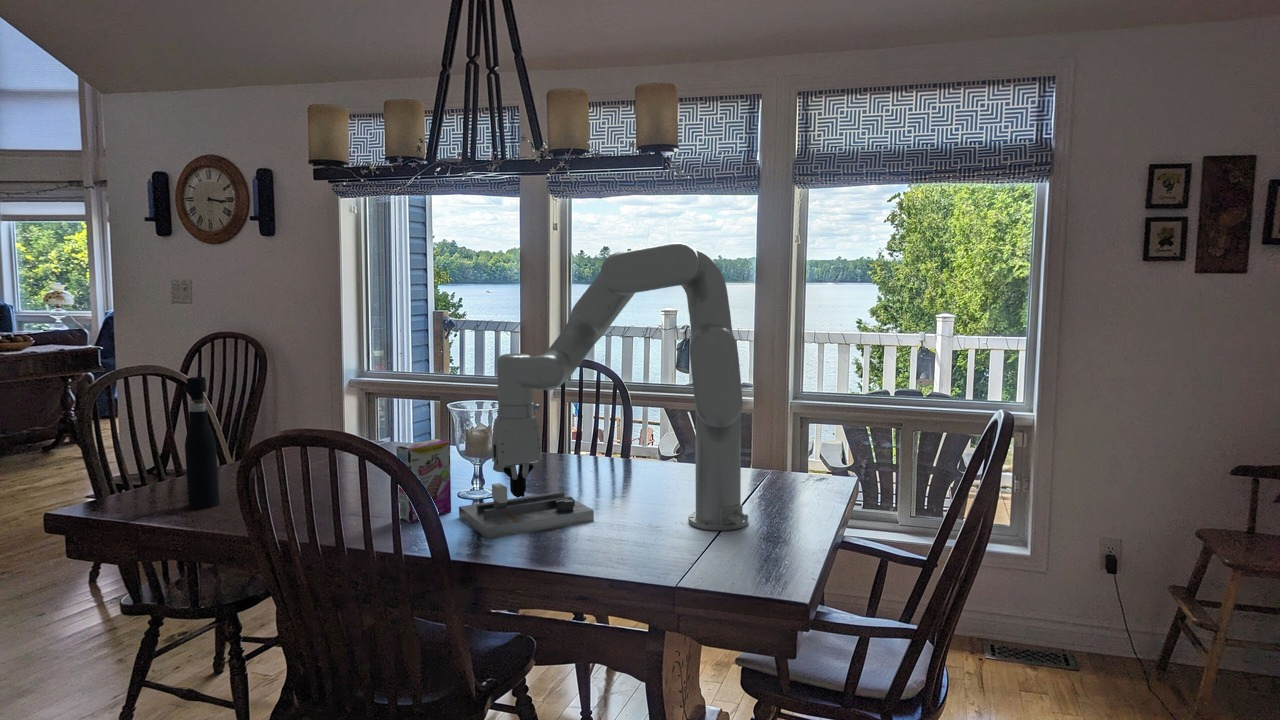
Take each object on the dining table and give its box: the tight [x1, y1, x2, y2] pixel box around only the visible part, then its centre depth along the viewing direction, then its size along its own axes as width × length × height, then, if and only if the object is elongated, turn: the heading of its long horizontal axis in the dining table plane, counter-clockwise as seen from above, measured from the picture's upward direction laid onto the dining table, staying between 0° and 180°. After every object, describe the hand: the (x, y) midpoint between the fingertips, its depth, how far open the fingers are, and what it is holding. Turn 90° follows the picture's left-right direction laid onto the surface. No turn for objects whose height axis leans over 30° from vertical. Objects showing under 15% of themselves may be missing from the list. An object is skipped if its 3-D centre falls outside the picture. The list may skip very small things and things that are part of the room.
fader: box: [491, 482, 508, 508], centre depth 182 cm, size 4×2×6 cm, turn 30°
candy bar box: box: [396, 438, 452, 523], centre depth 188 cm, size 11×5×16 cm, turn 141°
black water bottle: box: [184, 376, 220, 510], centre depth 197 cm, size 6×6×30 cm
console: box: [458, 491, 595, 540], centre depth 185 cm, size 18×24×5 cm
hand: (518, 495), depth 184 cm, fingers closed
